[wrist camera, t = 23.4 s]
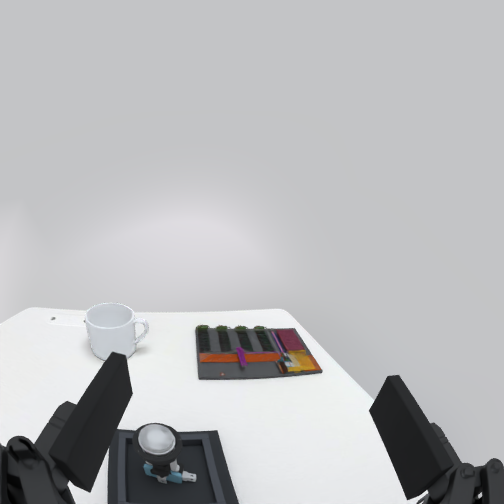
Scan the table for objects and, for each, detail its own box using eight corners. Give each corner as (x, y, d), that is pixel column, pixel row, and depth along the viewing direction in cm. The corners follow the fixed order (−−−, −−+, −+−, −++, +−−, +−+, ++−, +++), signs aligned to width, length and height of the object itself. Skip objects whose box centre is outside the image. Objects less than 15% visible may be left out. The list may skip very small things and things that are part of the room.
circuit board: (294, 330, 68) (296, 321, 67) (321, 372, 51) (325, 362, 50) (195, 329, 62) (196, 319, 61) (198, 379, 45) (199, 368, 45)
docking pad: (244, 522, 19) (246, 517, 18) (110, 522, 14) (103, 517, 13) (217, 433, 34) (218, 423, 33) (112, 431, 29) (108, 421, 28)
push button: (199, 466, 26) (198, 427, 24) (192, 497, 21) (189, 465, 18) (150, 454, 26) (139, 412, 24) (140, 484, 21) (123, 447, 18)
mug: (83, 357, 43) (76, 323, 40) (99, 330, 53) (95, 299, 50) (146, 368, 45) (142, 334, 43) (154, 338, 55) (152, 307, 53)
